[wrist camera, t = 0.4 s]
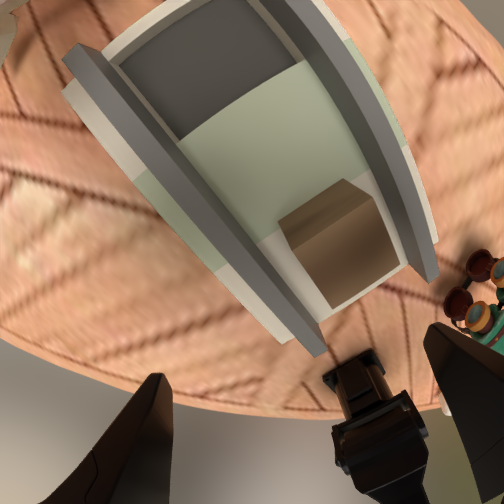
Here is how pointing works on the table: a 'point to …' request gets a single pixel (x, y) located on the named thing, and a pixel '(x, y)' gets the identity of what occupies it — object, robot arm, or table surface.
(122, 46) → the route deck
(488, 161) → the table surface
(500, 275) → the binoculars
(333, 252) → the walnut block
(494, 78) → the table surface
